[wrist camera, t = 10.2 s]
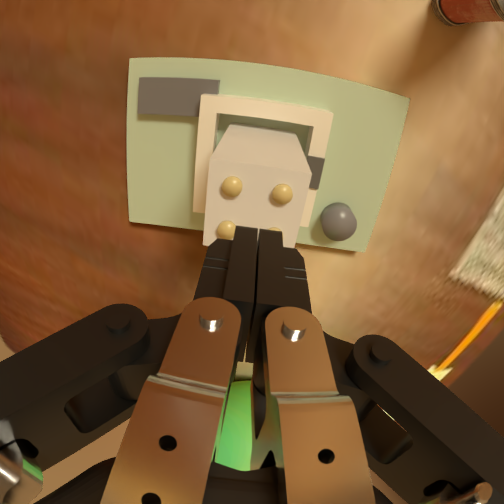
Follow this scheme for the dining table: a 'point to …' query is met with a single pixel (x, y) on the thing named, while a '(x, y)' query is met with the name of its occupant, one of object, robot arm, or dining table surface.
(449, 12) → the lighter
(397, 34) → the dining table surface
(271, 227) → the plug
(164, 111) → the board
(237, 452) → the toy bird
